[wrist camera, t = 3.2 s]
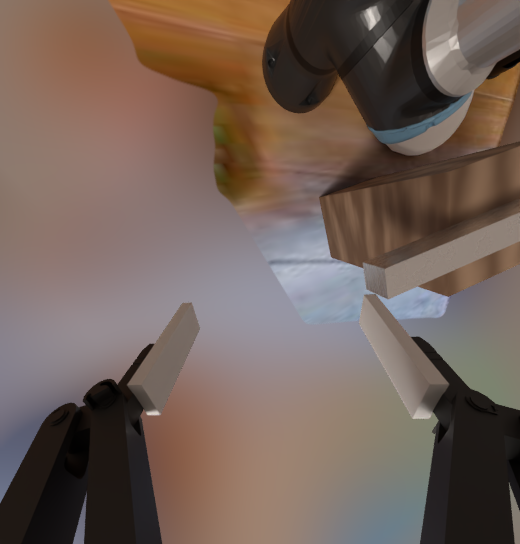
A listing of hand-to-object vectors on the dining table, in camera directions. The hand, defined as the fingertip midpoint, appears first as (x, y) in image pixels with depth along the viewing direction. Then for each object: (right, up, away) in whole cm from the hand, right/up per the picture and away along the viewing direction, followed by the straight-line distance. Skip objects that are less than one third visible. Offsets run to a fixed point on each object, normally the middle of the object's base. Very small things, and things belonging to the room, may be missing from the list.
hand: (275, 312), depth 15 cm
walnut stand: (+23, +17, +36) cm, 46 cm away
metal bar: (+26, +8, +9) cm, 29 cm away
